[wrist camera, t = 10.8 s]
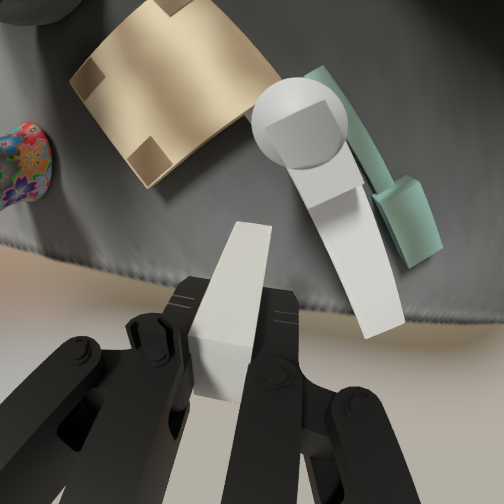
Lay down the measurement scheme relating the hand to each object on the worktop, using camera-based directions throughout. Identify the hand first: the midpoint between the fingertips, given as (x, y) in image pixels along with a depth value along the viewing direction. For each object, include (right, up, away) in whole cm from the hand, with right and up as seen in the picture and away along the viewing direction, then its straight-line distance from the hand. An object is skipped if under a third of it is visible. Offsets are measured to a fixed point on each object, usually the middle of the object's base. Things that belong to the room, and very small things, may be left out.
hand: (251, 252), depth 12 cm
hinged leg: (+6, +4, +7) cm, 10 cm away
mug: (-24, +10, +8) cm, 27 cm away
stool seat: (0, +8, +6) cm, 10 cm away
